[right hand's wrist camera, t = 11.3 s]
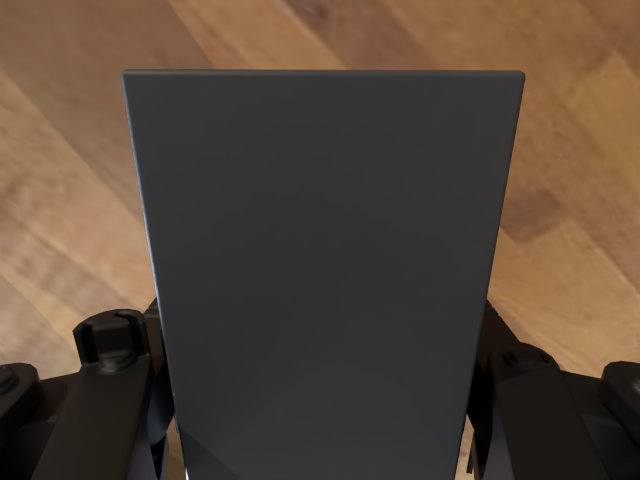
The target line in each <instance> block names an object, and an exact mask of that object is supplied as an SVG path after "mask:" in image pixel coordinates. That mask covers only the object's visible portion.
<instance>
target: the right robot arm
mask: <svg viewBox="0 0 640 480" xmlns="http://www.w3.org/2000/svg"><path fill="white" fill-rule="evenodd" d="M73 335H74V339H75V342H76V346H77V350H78V353H79V357H80V361H81V365H82V366H81V368H80V371H79V372H77V373H73V374H69V375H64V376H59V377H54V378H49V379H44V380H40V378H39V375H38V372H37V369H36V368H35V367H33V366H32V365H31V364H25V363H13V364H5V365H0V480H166V471H167V462H168V453H169V445H168V438H167V433H166V431H167V429H168V427H169V424H170V422H171V420H172V418H173V415H174V419H175V424H176V430H177V433H179V429H178V423H177V417H176V410H175V404H174V398H173V392H172V386H171V380H170V374H169V368H168V362H167V356H166V349H165V343H164V337H163V331H162V325H161V319H160V313H159V307H158V301H157V297H156V298H155V299H154V301H153V302H152V303H151V305H150V306H149V309H147V310H146V311H145V312H144V314H142V313H141V312H139V311H137V310H132V309H115V310H110V311H105V312H102V313H99V314H96V315H94V316H91V317H89V318H87V319H86V320H84V321H83V322H81V323H79V324H78V325H77V327H76V328H75V329H74V330H73ZM466 415H468V417H469V419H470V422H471V424H472V426H473V428H474V433H473V438H472V444H471V449H470V454H469V460H468V465H467V472H466V473H470V474H472V469H473V470H474V479H475V480H640V363H634V362H626V361H618V362H611V363H609V364H608V365H607V366H605V367H604V370H603V373H602V376H601V379H600V378H595V377H590V376H585V375H580V374H575V373H570V372H567V371H563V370H560V368H559V366H558V364H557V363H556V361H555V360H554V359H553V357H551V356H550V355H549V354H547V353H546V352H545V351H543V350H542V349H539V348H537V347H535V346H533V345H530V344H527V343H523V342H520V341H519V340H518V339H517V337H516V336H515V335H514V334H513V332H512V331H511V330H510V328H509V327H508V326H507V325H506V323H505V322H504V321H503V319H502V318H501V317H500V316H498V313H497V312H496V310H495V309H494V308H492V305H491V304H490V302H489V301H488V300H487V299H486V304H485V310H484V315H483V321H482V327H481V333H480V338H479V344H478V350H477V355H476V361H475V367H474V372H473V378H472V384H471V389H470V395H469V401H468V406H467V412H466ZM465 421H466V418H465ZM464 426H465V423H464ZM463 432H464V429H463Z"/></svg>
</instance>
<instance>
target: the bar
mask: <svg viewBox="0 0 640 480" xmlns="http://www.w3.org/2000/svg"><path fill="white" fill-rule="evenodd" d="M121 81H122V87H123V93H124V99H125V106H126V112H127V118H128V124H129V130H130V136H131V142H132V148H133V154H134V160H135V167H136V173H137V179H138V185H139V191H140V197H141V203H142V209H143V215H144V221H145V227H146V234H147V240H148V246H149V252H150V258H151V264H152V270H153V276H154V282H155V288H156V295H157V301H158V307H159V313H160V319H161V325H162V331H163V337H164V343H165V349H166V356H167V362H168V368H169V374H170V380H171V386H172V392H173V398H174V404H175V410H176V417H177V423H178V429H179V435H180V441H181V447H182V453H183V459H184V465H185V471H186V478H187V480H455V475H456V469H457V463H458V458H459V452H460V446H461V441H462V435H463V429H464V423H465V418H466V412H467V406H468V401H469V395H470V389H471V384H472V378H473V372H474V367H475V361H476V355H477V350H478V344H479V338H480V333H481V327H482V321H483V315H484V310H485V304H486V298H487V293H488V287H489V281H490V276H491V270H492V264H493V259H494V253H495V247H496V242H497V236H498V230H499V225H500V219H501V213H502V207H503V202H504V196H505V190H506V185H507V179H508V173H509V168H510V162H511V156H512V151H513V145H514V139H515V134H516V128H517V122H518V117H519V111H520V105H521V99H522V94H523V88H524V82H525V74H524V73H523V72H521V71H475V70H216V69H126V70H124V71H122V72H121Z"/></svg>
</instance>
